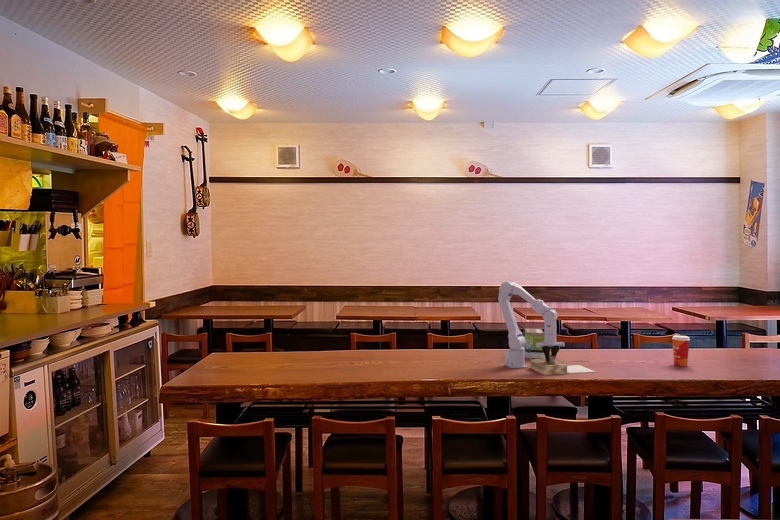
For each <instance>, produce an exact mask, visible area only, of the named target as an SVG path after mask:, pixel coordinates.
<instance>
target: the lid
mask: <svg viewBox="0 0 780 520" xmlns="http://www.w3.org/2000/svg"><path fill="white" fill-rule="evenodd" d="M535 360H536V359H535ZM536 361H537V362H539V363H541V364H543V365H564V364H565V363H563V362H561V361H558V360H556V358H555V356H553V355H551V353H550V354H549V362H547V361H546V360H536Z"/></svg>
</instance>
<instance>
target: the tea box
mask: <svg viewBox="0 0 780 520" xmlns="http://www.w3.org/2000/svg"><path fill="white" fill-rule="evenodd" d="M523 336H524V337H525V338H526V345H525V346H524V348H525V359H532V358H535V359H534V360H536V359H545V355H544V352H543V350H542V348H541V347H536V343H541V342H544V331H543V329H542V328H541V329H540V328H524V335H523Z"/></svg>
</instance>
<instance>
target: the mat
mask: <svg viewBox="0 0 780 520" xmlns="http://www.w3.org/2000/svg"><path fill="white" fill-rule="evenodd" d="M586 373H588V374H589V373H596V371H595V370H592V369H590V368H587V367H585V366H583V365H580V364H576V365H575V364H574V365H571V364H570V365H567V374H586Z"/></svg>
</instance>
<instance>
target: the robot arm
mask: <svg viewBox="0 0 780 520" xmlns="http://www.w3.org/2000/svg"><path fill="white" fill-rule="evenodd" d="M498 291H499V292H498V297H497V300H498V304H499V306H500V310H501V313H502V315H503V319H504V322H505V324H506V328H507V331H508V335H507V338H508V346H509V349H505V353H504V355H505V356H504V357H505V359H504V366H506V367H508V368H510V369H517V368H518V369H520V368H521V369H522V368H525V369H526V368H529V367H528V365H527V364H525V361H526V360H525V359H526V357H525V348H524V346H525V345H526V338H525V337H524V335H523V332H522V331H521V330H520V329H519V325H518V322H517V320H516V316H515V314H514V311H513V308H512V305H511V302H510V300H511V298H512V296H513V295H514V296H515V295H517V296H519V297H521V298H522V299H523V300H525V301H526V302H527V303H528V304H530V305H531V309H533V310H534V311H535V312H536V313H537V314H539V315H540V316H541V317H542V319H543V320H544V331H543V332H544V342H541V343H536V347H541V348H542V350H543V352H544V359H546V361H547V362H549V354H550V355H553V356H555V359H556V357H557V355H558V352H559V351H560V349H561V348H560V347H565V346H566V345H565V342H564V341H557V319H558V318H559V315H558V314H559V313H558V312H557V310H556V309H554V308H552V307H551V306H548V305H547V304H546V303H545V302H544V300H543V299H536V298H535V297H534V296H533V295H531V294H530V293H529V292H528V291H527V290H525V289H524V288H523V286H521V285H520V284H518V283H517V282H516V281H514V280H512V281H511V280H510V281H504V282H502V283H501V284H500V286H499V287H498Z"/></svg>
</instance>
